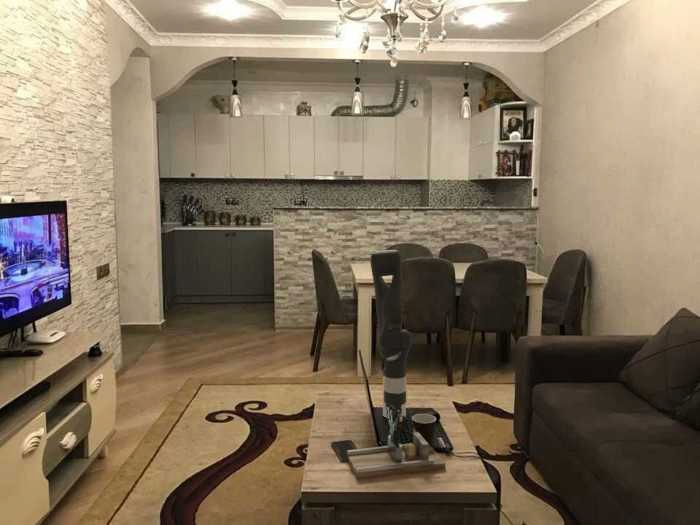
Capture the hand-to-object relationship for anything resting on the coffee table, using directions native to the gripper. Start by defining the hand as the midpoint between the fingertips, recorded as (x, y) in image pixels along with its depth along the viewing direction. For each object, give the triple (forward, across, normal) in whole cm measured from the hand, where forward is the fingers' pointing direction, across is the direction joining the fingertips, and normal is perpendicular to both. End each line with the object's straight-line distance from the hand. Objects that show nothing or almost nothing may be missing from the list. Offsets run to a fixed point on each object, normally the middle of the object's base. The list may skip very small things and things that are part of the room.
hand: (394, 437), depth 200 cm
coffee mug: (+9, -13, +15) cm, 22 cm away
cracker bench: (+9, 0, 0) cm, 9 cm away
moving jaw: (+7, 0, 0) cm, 7 cm away
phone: (+10, -13, -14) cm, 21 cm away
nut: (+7, 0, +5) cm, 9 cm away
